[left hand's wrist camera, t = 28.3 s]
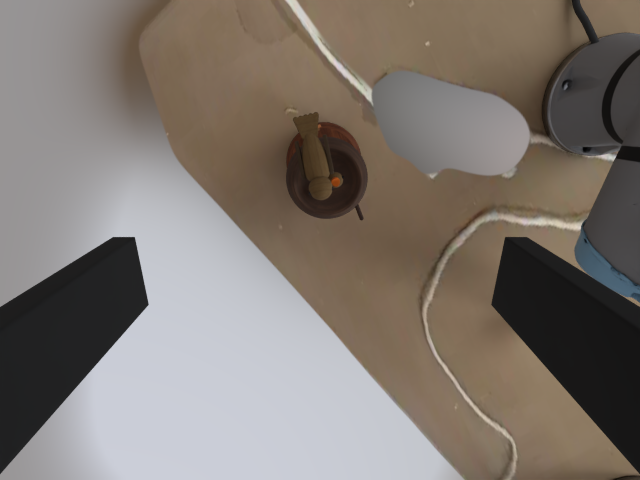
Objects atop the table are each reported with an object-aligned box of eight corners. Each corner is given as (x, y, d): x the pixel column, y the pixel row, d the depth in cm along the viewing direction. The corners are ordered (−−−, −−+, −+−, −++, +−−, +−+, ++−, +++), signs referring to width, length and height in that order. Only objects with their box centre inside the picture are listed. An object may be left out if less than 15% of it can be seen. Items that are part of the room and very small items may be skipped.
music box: (265, 139, 50) (247, 146, 31) (330, 97, 49) (353, 78, 30) (319, 225, 54) (332, 277, 35) (379, 188, 53) (427, 222, 34)
